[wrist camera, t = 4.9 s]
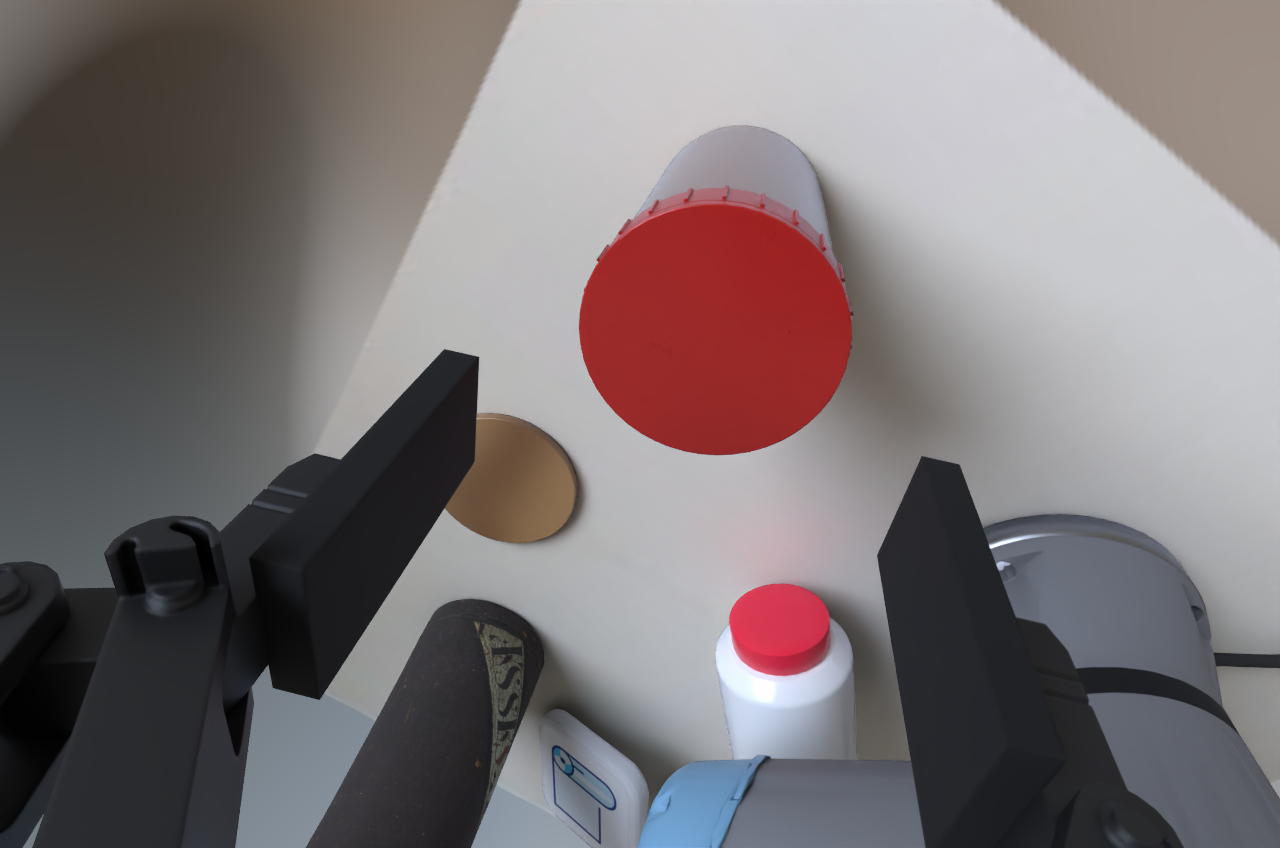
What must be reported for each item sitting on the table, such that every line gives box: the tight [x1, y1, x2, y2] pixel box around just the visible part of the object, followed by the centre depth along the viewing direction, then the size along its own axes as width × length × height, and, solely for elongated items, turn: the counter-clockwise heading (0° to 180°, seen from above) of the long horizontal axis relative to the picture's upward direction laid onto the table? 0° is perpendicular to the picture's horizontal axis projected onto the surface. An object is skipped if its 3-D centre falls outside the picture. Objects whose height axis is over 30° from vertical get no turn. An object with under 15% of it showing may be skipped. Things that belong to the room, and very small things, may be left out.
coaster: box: [445, 413, 577, 543], centre depth 43 cm, size 9×9×1 cm
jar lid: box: [579, 185, 853, 455], centre depth 22 cm, size 8×8×2 cm
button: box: [539, 709, 649, 848], centre depth 52 cm, size 10×2×10 cm
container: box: [306, 599, 544, 848], centre depth 42 cm, size 9×9×20 cm
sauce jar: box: [634, 126, 834, 255], centre depth 27 cm, size 8×8×14 cm
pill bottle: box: [715, 584, 858, 760], centre depth 42 cm, size 8×8×11 cm
